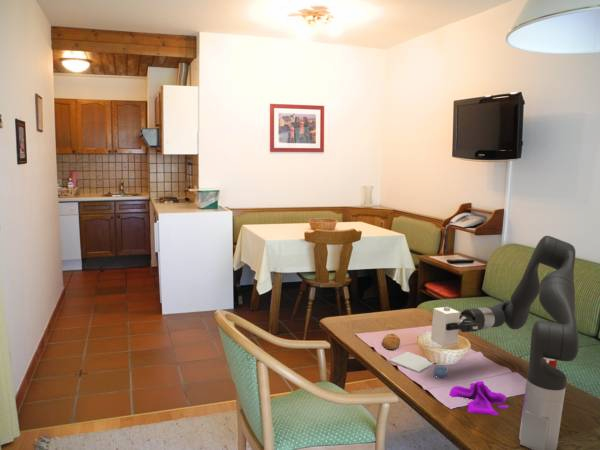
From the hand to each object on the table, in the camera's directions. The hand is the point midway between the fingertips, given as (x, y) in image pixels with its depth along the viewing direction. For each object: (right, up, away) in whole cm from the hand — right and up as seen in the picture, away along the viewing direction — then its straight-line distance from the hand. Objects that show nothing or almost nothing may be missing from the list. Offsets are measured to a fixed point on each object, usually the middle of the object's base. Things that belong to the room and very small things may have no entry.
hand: (440, 323), depth 171 cm
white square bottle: (+2, -6, +2) cm, 7 cm away
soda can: (+33, -21, -3) cm, 40 cm away
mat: (-6, -16, +14) cm, 22 cm away
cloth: (+11, -22, -10) cm, 27 cm away
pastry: (-11, -14, +29) cm, 34 cm away
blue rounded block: (+1, -18, +4) cm, 19 cm away
